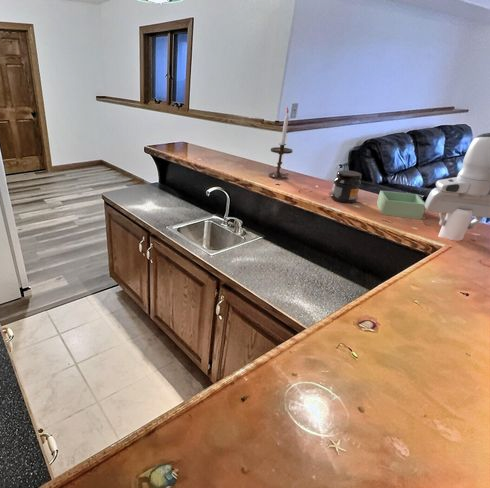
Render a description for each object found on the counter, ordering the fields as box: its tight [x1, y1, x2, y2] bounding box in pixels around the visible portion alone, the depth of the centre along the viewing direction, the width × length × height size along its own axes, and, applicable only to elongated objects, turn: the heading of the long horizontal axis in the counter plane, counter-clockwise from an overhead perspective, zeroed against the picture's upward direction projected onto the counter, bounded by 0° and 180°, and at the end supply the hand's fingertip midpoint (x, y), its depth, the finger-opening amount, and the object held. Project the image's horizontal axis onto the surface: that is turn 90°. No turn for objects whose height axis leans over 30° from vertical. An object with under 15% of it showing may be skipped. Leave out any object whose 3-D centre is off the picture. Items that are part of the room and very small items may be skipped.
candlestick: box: [268, 106, 293, 179], centre depth 179 cm, size 11×11×35 cm
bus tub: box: [375, 190, 427, 220], centre depth 141 cm, size 14×14×6 cm
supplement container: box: [330, 169, 362, 204], centre depth 152 cm, size 10×10×12 cm
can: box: [437, 208, 474, 242], centre depth 115 cm, size 6×6×12 cm
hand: (455, 226), depth 115 cm, fingers closed on can, 6 cm apart
